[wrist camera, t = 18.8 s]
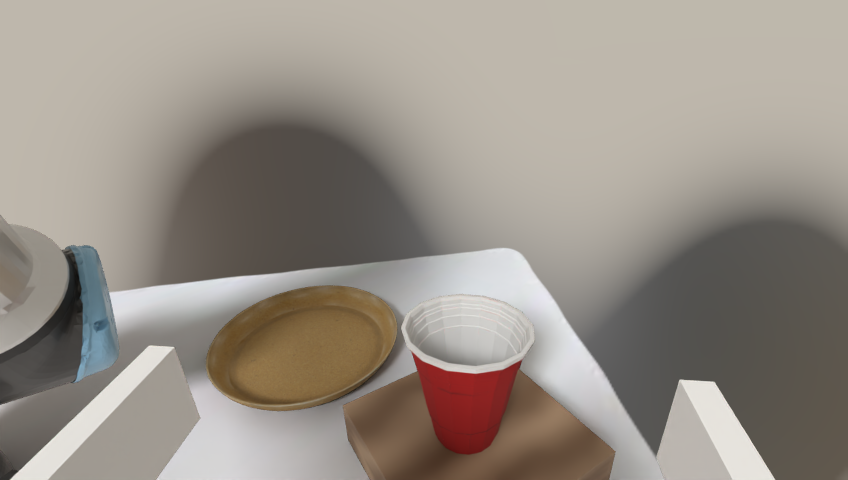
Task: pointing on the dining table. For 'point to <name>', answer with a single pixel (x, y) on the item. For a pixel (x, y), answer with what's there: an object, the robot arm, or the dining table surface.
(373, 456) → the walnut podium
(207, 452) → the dining table surface
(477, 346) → the plastic cup
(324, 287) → the plant saucer
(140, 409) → the robot arm
